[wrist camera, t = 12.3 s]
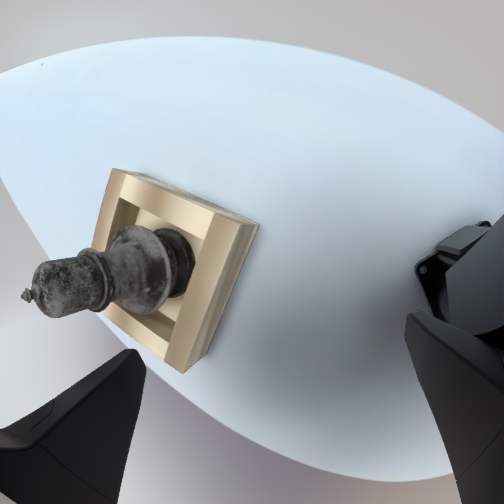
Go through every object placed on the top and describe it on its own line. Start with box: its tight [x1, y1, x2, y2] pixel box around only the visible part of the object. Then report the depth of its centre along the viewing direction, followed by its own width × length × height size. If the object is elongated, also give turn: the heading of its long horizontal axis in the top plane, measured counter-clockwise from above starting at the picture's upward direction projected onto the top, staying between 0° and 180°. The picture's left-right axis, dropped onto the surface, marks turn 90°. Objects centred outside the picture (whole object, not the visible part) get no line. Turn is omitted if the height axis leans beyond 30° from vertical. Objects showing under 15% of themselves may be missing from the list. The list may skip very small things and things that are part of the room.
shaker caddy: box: [91, 168, 259, 374], centre depth 20 cm, size 11×11×4 cm
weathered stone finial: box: [21, 225, 196, 318], centre depth 15 cm, size 6×6×12 cm
